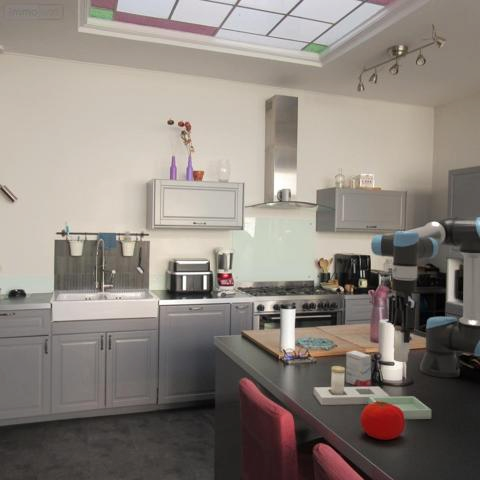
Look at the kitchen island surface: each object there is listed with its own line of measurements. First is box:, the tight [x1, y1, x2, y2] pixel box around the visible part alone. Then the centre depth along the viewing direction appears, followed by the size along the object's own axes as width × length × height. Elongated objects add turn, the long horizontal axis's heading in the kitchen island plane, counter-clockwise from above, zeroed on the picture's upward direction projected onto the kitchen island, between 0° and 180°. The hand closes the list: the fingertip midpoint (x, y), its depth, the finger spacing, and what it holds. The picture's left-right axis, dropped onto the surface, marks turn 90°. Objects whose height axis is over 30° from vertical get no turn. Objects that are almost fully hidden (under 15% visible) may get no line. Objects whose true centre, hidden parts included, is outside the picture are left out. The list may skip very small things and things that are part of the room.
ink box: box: [345, 350, 372, 387], centre depth 188 cm, size 9×5×12 cm, turn 33°
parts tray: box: [368, 395, 432, 420], centre depth 162 cm, size 16×12×3 cm
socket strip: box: [313, 365, 391, 406], centre depth 173 cm, size 24×10×11 cm, turn 97°
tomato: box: [360, 401, 406, 441], centre depth 143 cm, size 11×13×10 cm
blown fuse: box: [393, 325, 409, 363], centre depth 161 cm, size 5×5×11 cm
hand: (401, 349), depth 161 cm, fingers closed on blown fuse, 4 cm apart
